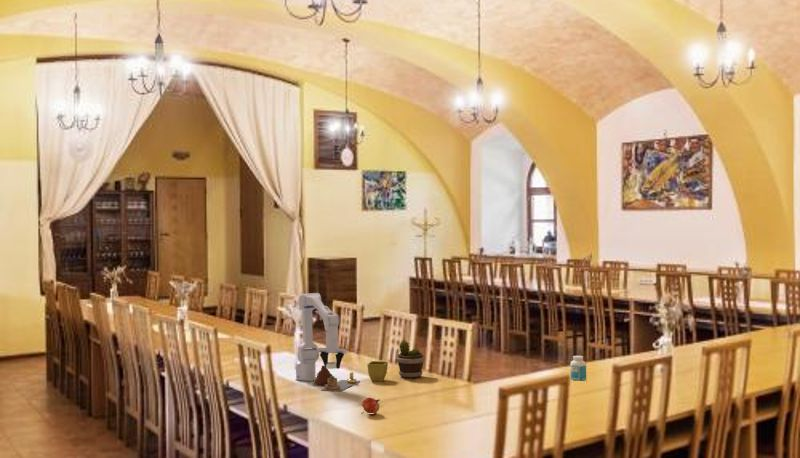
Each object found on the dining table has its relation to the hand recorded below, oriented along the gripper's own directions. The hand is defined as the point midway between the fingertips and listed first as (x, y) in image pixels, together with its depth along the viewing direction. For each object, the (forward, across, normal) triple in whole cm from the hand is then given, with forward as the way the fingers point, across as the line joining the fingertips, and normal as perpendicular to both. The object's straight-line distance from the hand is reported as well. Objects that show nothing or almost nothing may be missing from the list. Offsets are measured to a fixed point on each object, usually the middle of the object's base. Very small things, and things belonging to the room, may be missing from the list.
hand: (332, 368), depth 382 cm
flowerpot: (+10, +27, +37) cm, 47 cm away
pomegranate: (+10, +36, -42) cm, 56 cm away
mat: (+10, +2, +7) cm, 12 cm away
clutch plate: (0, 0, 0) cm, 0 cm away
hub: (+10, +4, +14) cm, 17 cm away
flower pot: (+10, +14, +24) cm, 30 cm away
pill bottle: (+10, +111, +43) cm, 119 cm away
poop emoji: (+10, -8, +9) cm, 16 cm away
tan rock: (+10, 0, 0) cm, 10 cm away
